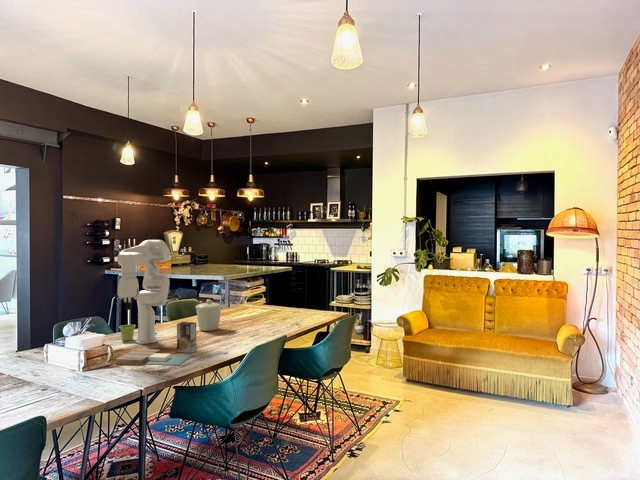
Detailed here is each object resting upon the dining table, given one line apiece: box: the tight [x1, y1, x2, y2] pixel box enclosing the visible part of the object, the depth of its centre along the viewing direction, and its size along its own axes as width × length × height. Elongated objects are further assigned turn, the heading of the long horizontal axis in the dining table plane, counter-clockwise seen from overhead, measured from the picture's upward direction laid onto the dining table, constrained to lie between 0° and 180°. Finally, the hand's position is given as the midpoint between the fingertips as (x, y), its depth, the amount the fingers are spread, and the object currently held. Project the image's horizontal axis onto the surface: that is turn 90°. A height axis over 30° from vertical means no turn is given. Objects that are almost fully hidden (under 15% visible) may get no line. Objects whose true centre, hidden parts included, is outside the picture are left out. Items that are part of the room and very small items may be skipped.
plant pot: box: [118, 324, 136, 342], centre depth 274 cm, size 9×9×9 cm
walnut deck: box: [115, 348, 161, 366], centre depth 232 cm, size 20×14×2 cm
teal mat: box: [144, 353, 193, 367], centre depth 231 cm, size 18×18×1 cm
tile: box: [148, 352, 171, 361], centre depth 231 cm, size 7×9×2 cm
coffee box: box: [176, 321, 197, 354], centre depth 248 cm, size 9×6×16 cm
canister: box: [195, 299, 223, 332], centre depth 305 cm, size 18×18×21 cm
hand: (128, 309), depth 239 cm, fingers closed
